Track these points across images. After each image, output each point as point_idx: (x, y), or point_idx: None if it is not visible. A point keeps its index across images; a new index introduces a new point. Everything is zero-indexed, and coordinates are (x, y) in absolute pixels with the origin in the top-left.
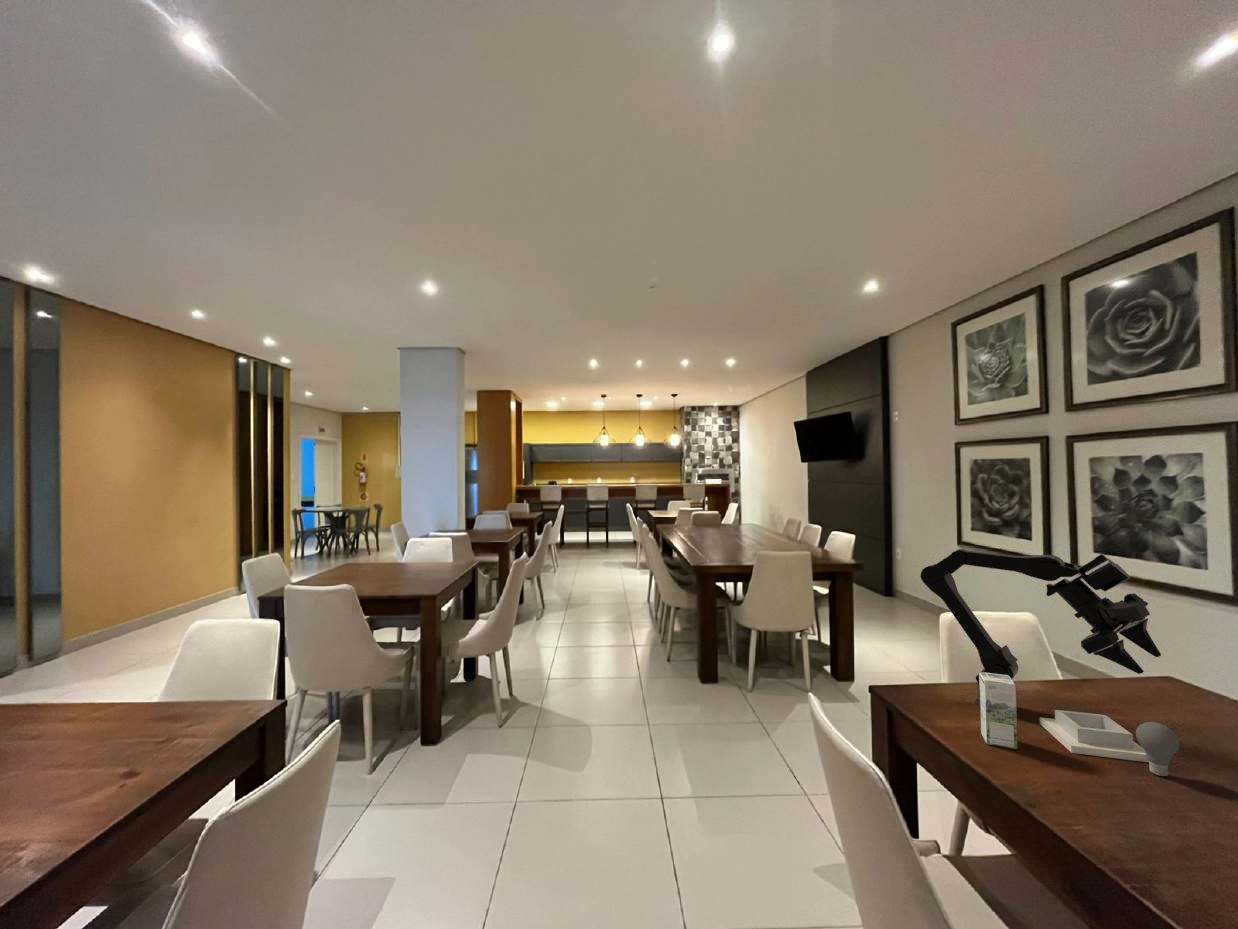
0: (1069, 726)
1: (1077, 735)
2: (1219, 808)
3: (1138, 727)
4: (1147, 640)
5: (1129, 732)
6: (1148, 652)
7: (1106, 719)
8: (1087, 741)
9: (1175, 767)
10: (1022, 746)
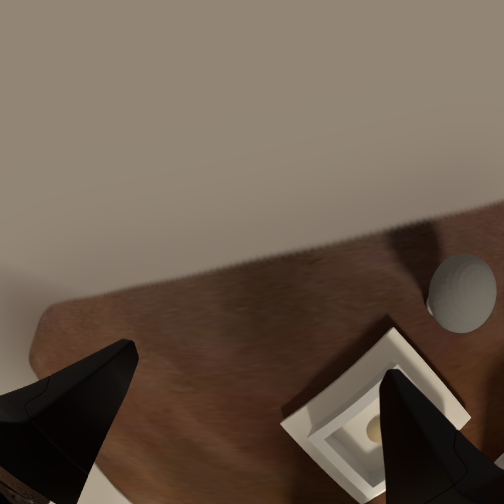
0: None
1: None
2: (467, 218)
3: (481, 322)
4: (71, 399)
5: None
6: (126, 391)
7: (338, 428)
8: None
9: (374, 300)
10: (492, 453)
